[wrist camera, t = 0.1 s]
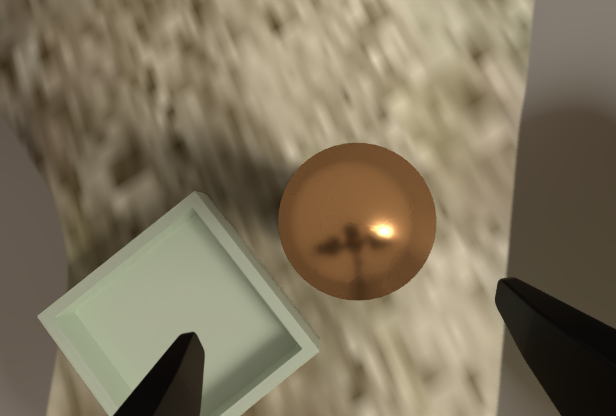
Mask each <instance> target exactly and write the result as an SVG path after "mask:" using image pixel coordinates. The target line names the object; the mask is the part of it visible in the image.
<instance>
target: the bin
mask: <svg viewBox="0 0 616 416" xmlns="http://www.w3.org/2000/svg"><path fill="white" fill-rule="evenodd" d="M37 317H38V318H39V320H40V321H41V323H42V324H43V325H44V327H45V328H46V329H47V331H48V332H49V333H50V335H51V336H52V338H53V339H54V341H55V342H56V343H57V345H58V346H59V347H60V349H61V350H62V352H63V353H64V354H65V356H66V357H67V359H68V360H69V361H70V363H71V364H72V365H73V367H74V368H75V370H76V371H77V372H78V374H79V375H80V377H81V378H82V379H83V381H84V382H85V383H86V385H87V386H88V388H89V389H90V390H91V392H92V393H93V395H94V396H95V397H96V399H97V400H98V401H99V403H100V404H101V406H102V407H103V408H104V410H105V411H106V413H107V414H108V415H109V416H113V415H114V413H115V412H116V411H117V410H118V409H119V407H120V406H121V405H122V404H123V403H124V401H125V400H126V399H127V398H128V396H129V395H130V394H131V393H132V392H133V390H134V389H135V388H136V387H137V386H138V384H139V383H140V382H141V381H142V380H143V378H144V377H145V376H146V375H147V374H148V372H149V371H150V370H151V369H152V367H153V366H154V365H155V364H156V363H157V361H158V360H159V359H160V358H161V357H162V355H163V354H164V353H165V352H166V351H167V349H168V348H169V347H170V346H171V344H172V343H173V342H174V341H175V340H176V338H177V337H178V336H179V335H180V334H182V333H187V332H195V333H196V334H197V336H198V338H199V340H200V342H201V344H202V346H203V348H204V351H205V363H204V375H203V388H202V401H201V411H200V416H240V415H241V414H242V413H244V412H245V411H246V410H247V409H249V408H250V407H251V406H252V405H254V404H255V403H256V402H257V401H259V400H260V399H261V398H262V397H263V396H265V395H266V394H267V393H268V392H270V391H271V390H272V389H273V388H275V387H276V386H277V385H278V384H280V383H281V382H282V381H283V380H285V379H286V378H287V377H288V376H289V375H291V374H292V373H293V372H294V371H296V370H297V369H298V368H299V367H301V366H302V365H303V364H304V363H306V362H307V361H308V360H309V359H310V358H312V357H313V356H314V355H315V354H317V353H318V352H319V351H320V345H319V337H318V336H317V334H316V333H315V332H314V331H313V329H312V328H311V327H310V326H309V324H308V323H307V322H306V320H305V319H304V318H303V317H302V315H301V314H300V313H299V311H298V310H297V309H296V308H295V306H294V305H293V304H292V303H291V301H290V300H289V299H288V297H287V296H286V295H285V294H284V292H283V291H282V290H281V288H280V287H279V286H278V285H277V283H276V282H275V281H274V280H273V278H272V277H271V276H270V274H269V273H268V272H267V271H266V269H265V268H264V267H263V265H262V264H261V263H260V262H259V260H258V259H257V258H256V257H255V255H254V254H253V253H252V251H251V250H250V249H249V248H248V246H247V245H246V244H245V242H244V241H243V240H242V239H241V237H240V236H239V235H238V233H237V232H236V231H235V230H234V228H233V227H232V226H231V225H230V223H229V222H228V221H227V219H226V218H225V217H224V216H223V214H222V213H221V212H220V210H219V209H218V208H217V207H216V205H215V204H214V203H213V202H212V200H211V199H210V198H209V196H208V195H207V194H204V193H201V192H197V191H193V192H192V193H191V194H190V195H188V196H187V197H186V198H185V199H183V200H182V201H181V202H180V203H178V204H177V205H176V206H175V207H173V208H172V209H171V210H170V211H168V212H167V213H166V214H165V215H163V216H162V217H161V218H160V219H158V220H157V221H156V222H155V223H153V224H152V225H151V226H150V227H148V228H147V229H146V230H145V231H143V232H142V233H141V234H140V235H138V236H137V237H136V238H135V239H133V240H132V241H131V242H129V243H128V244H127V245H126V246H124V247H123V248H122V249H121V250H119V251H118V252H117V253H116V254H114V255H113V256H112V257H111V258H109V259H108V260H107V261H106V262H104V263H103V264H102V265H101V266H99V267H98V268H97V269H96V270H94V271H93V272H92V273H91V274H89V275H88V276H87V277H86V278H84V279H83V280H82V281H81V282H79V283H78V284H77V285H76V286H74V287H73V288H72V289H71V290H69V291H68V292H67V293H65V294H64V295H63V296H62V297H60V298H59V299H58V300H57V301H55V302H54V303H53V304H52V305H50V306H49V307H48V308H47V309H45V310H44V311H43V312H42V313H40V314H39V315H38V316H37Z"/></svg>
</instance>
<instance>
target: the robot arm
mask: <svg viewBox="0 0 616 416" xmlns="http://www.w3.org/2000/svg"><path fill="white" fill-rule="evenodd" d="M495 303H496V306H497V309H498V311H499V312H500V314H501V316H502V318H503V320H504V322H505V324H506V326H507V328H508V330H509V332H510V334H511V335H512V337H513V339H514V341H515V343H516V345H517V347H518V349H519V351H520V352H521V354H522V356H523V358H524V359H525V361H526V363H527V364H528V366H529V367H530V369H531V370H532V372H533V373H534V375H535V376H536V378H537V380H538V381H539V383H540V384H541V386H542V387H543V388H544V390H545V392H546V393H547V395H548V396H549V398H550V399H551V401H552V402H553V404H554V405H555V407H556V409H557V410H558V412H559V413H560V415H561V416H616V329H614V328H613V327H611V326H609V325H607V324H605V323H603V322H601V321H599V320H597V319H595V318H593V317H591V316H590V315H587V314H586V313H584V312H582V311H580V310H578V309H576V308H574V307H572V306H570V305H568V304H566V303H564V302H562V301H560V300H558V299H557V298H555V297H553V296H550V295H549V294H547V293H545V292H543V291H541V290H539V289H537V288H535V287H533V286H531V285H529V284H527V283H525V282H524V281H522V280H520V279H518V278H515V277H508V278H502V279H500V280H499V281H498V284H497V290H496V295H495ZM204 363H205V351H204V348H203V346H202V344H201V342H200V340H199V338H198V336H197V334H196V333H195V332H187V333H182V334H180V335H179V336H178V337H177V338H176V340H175V341H174V342H173V343H172V344H171V346H170V347H169V348H168V349H167V351H166V352H165V353H164V354H163V355H162V357H161V358H160V359H159V360H158V361H157V363H156V364H155V365H154V366H153V367H152V369H151V370H150V371H149V372H148V374H147V375H146V376H145V377H144V378H143V380H142V381H141V382H140V383H139V384H138V386H137V387H136V388H135V389H134V390H133V392H132V393H131V394H130V395H129V396H128V398H127V399H126V400H125V401H124V403H123V404H122V405H121V406H120V407H119V409H118V410H117V411H116V412H115V413H114V415H113V416H200V411H201V401H202V388H203V375H204Z"/></svg>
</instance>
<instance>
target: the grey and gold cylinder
mask: <svg viewBox="0 0 616 416" xmlns="http://www.w3.org/2000/svg"><path fill="white" fill-rule="evenodd" d="M278 225H279V234H280V239H281V243H282V246H283V249H284V252H285V254H286V256H287V258H288V260H289V262H290V263H291V264H292V266H293V267H294V269H295V270H296V271H297V272H298V274H299V275H300V276H301V277H302V278H303V279H304V280H306V281H307V282H308V283H309V284H310V285H312V286H313V287H315V288H316V289H318V290H320V291H322V292H324V293H326V294H328V295H331V296H334V297H337V298H341V299H347V300H370V299H374V298H379V297H382V296H385V295H388V294H390V293H392V292H394V291H396V290H398V289H400V288H401V287H402V286H404V285H405V284H407V283H408V282H409V281H410V280H411V279H412V278H413V277H414V276H415V275H416V274H417V273H418V272H419V270H420V269H421V268H422V267H423V265H424V263H425V262H426V260H427V258H428V256H429V254H430V252H431V249H432V246H433V243H434V239H435V233H436V212H435V206H434V202H433V198H432V195H431V193H430V190H429V188H428V186H427V184H426V183H425V181H424V179H423V178H422V176H421V175H420V174H419V172H418V171H417V170H416V169H415V168H414V167H413V166H412V165H411V164H410V163H409V162H408V161H406V160H405V159H404V158H403V157H401V156H400V155H398V154H396V153H395V152H393V151H390V150H388V149H386V148H383V147H380V146H377V145H372V144H366V143H348V144H341V145H337V146H333V147H330V148H328V149H325V150H323V151H321V152H319V153H317V154H315V155H314V156H313V157H311V158H310V159H308V160H307V161H306V162H305V163H304V164H303V165H302V166H300V168H299V169H298V170H297V171H296V172H295V173H294V175H293V176H292V178H291V179H290V181H289V182H288V184H287V186H286V189H285V191H284V193H283V196H282V199H281V203H280V208H279V218H278Z"/></svg>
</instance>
